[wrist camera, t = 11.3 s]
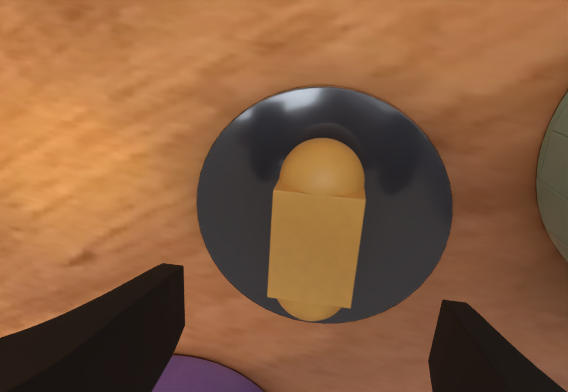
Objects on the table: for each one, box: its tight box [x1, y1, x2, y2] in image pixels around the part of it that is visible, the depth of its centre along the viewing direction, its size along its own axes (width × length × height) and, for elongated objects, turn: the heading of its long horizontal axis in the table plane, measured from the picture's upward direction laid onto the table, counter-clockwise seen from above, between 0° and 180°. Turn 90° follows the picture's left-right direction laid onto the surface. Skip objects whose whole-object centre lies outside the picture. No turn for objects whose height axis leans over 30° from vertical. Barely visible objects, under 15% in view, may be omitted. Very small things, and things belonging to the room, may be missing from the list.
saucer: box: [197, 85, 452, 324], centre depth 18 cm, size 11×11×1 cm
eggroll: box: [267, 138, 366, 321], centre depth 17 cm, size 8×3×3 cm, turn 176°
